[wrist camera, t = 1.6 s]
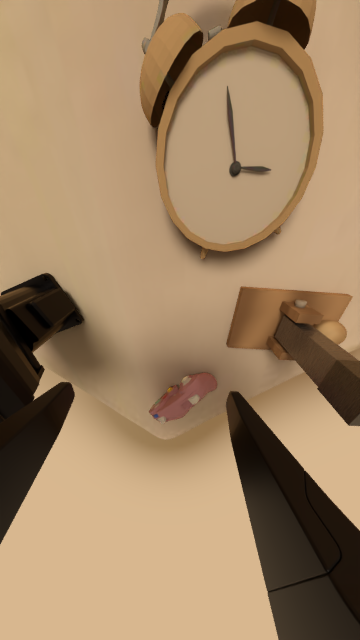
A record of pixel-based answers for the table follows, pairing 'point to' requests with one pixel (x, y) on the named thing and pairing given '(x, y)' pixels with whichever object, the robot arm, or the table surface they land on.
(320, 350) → the lever
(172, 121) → the alarm clock
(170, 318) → the table surface
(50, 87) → the table surface
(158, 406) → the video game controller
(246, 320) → the base
